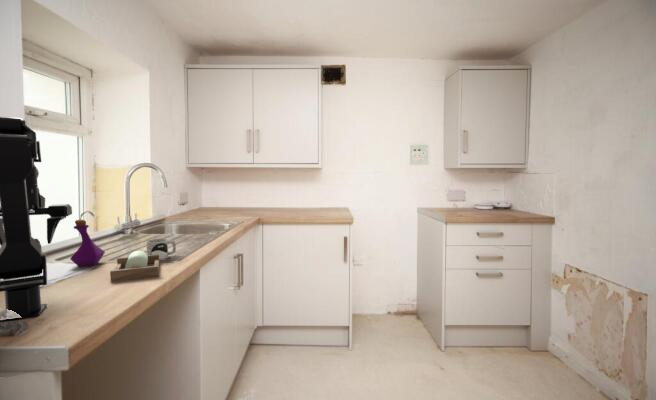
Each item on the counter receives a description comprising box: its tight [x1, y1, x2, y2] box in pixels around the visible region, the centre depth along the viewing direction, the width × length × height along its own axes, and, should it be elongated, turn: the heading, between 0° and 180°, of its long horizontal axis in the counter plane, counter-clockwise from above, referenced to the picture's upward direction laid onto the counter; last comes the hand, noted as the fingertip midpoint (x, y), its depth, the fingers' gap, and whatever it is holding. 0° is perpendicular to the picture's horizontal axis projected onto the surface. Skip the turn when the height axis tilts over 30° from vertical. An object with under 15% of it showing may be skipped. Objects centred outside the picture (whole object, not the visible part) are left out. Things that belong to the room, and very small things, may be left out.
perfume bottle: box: [69, 210, 106, 267], centre depth 111 cm, size 8×8×18 cm
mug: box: [146, 238, 177, 262], centre depth 121 cm, size 10×7×7 cm
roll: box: [124, 250, 148, 269], centre depth 105 cm, size 10×6×6 cm, turn 26°
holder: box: [109, 254, 160, 283], centre depth 105 cm, size 16×12×3 cm
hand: (27, 244), depth 87 cm, fingers open, 9 cm apart
